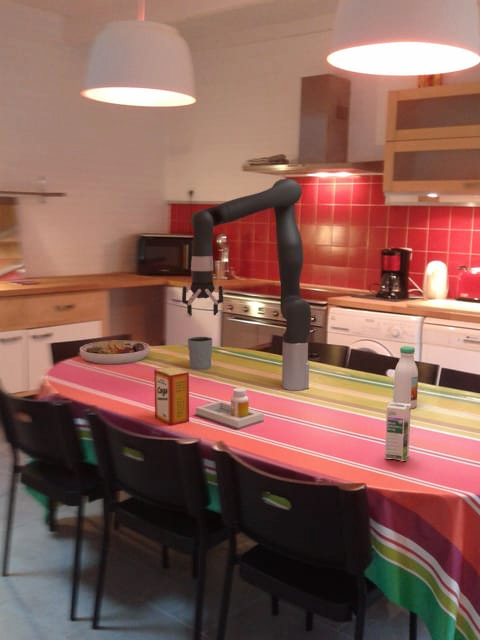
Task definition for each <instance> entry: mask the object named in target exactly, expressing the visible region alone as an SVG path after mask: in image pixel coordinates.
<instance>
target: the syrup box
mask: <svg viewBox="0 0 480 640" xmlns="http://www.w3.org/2000/svg"><path fill="white" fill-rule="evenodd" d="M411 409H412V408H411V404H403V403H393V401H391V402H389V403H388V404H387V407H386V415H385V416H386V418H385V445H384V448H385V449H384V458H385V457H386V458H391V459H397V460H404V461H406V460H407V461H408V458H407V457H409V455H408V454H410V453H409V452H410V437H411V435H410V434H411V433H410V432H411V412H412V410H411ZM407 461H406V462H407Z"/></svg>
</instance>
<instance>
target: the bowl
mask: <svg viewBox="0 0 480 640" xmlns="http://www.w3.org/2000/svg"><path fill="white" fill-rule="evenodd" d="M150 348H151V347H150V345H149V344H148V343H145V342H142V341H135V340H125V339H124V340H121V339H120V340H118V339H113V340H103V341H94V342H91V343H86V344H84V345H82V346H80V347H79V353H80V356H81V357H82V358H83V359H84V360H85V361H86V362H89V363H92V364H93V363H94V364H99V365H123V364H130V363H135V362H138V361H142V360H144V359H145V358H146V357H147V356H148V355H149V353H150V351H151V350H150Z"/></svg>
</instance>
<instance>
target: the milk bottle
mask: <svg viewBox="0 0 480 640" xmlns="http://www.w3.org/2000/svg"><path fill="white" fill-rule="evenodd" d="M415 349H416V348H415V347H414V346H409V345H408V346H406V345H404V346H401V347H400V349H399V351H400V352H399V353H400V357H399V360H398V362H397V364H396V366H395V370H394V376H393V397H392V398H393V400H392V402H393V403H403V404H411V409H414V408H417V406H418V404H417V403H418V386H419V372H418V366H417V363H416V362H415V357H414V356H415V351H416V350H415Z"/></svg>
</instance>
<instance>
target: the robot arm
mask: <svg viewBox="0 0 480 640" xmlns="http://www.w3.org/2000/svg"><path fill="white" fill-rule="evenodd" d="M302 193H303V191H302V187H301V185H300V183H299V182H298V181H297V180H295V179H293V178H292V179H291V178H283V179H279V180H277V181H275V182H274V184H273V185H272V187H270V188H268V189H265V190H263V191H259V192H256V193H253V194H250V195H246V196H241V197H238V198H235V199H231V200H228V201H224V202H223V203H222V202H221V203H219V204H218V205H215V206H210V207H207V208H203V209H200V210H197V211H195V212H194V213H193V214H192V215H191V217H190V225H191V227H192V229H193V233H192V234H193V238H192V243H191V264H190V265H191V267H190V270H191V273H190V274H191V284H190V286H188V285H187V286H186V285H183V286H182V291H181V303H182V304H185V305H186V309H187V311H186V313H187V315H189V317H192V315H193V314H192V313H193V312H192V311H193V308H192V303H193V302H194V301H195V300H196V299H208V298H210V300H211V301H212V304H213V305H212V306H213V309H212V310H213V313H212V314H213V316H217V314H218V313H219V304H222V303H224V294H223V293H224V292H223V290H224V289H223V286H222V285H221V284H218V285H214V259H213V238H214V237H213V236H214V235H213V234H214V228H215V227H216V226H219V225H224V224H225V225H226V224H229V223H233V222H235V221H238V220H241V219H244V218H247V217H249V216H251V215H254V214H257V213H259V212H262V211H265V210H266V211H267V210H269V209H273V211H274V218H275V239H276V253H277V262H278V264H277V265H278V273H279V283H280V301H279V303H280V304H279V305H280V306H279V307H280V309H279V310H280V314H281V316H282V317H283V319H285V320H286V324H285V325H286V326H285V332H284V333H283V334H282V354H281V355H282V357H281V358H282V360H281V362H282V363H281V365H282V366H281V367H282V368H281V369H282V370H281V387H282V389H285V390H288V391H304V390H306V389H307V390H308V389H309V387H310V385H309V384H310V363H309V362H308V360H309V356H308V355H309V338H310V337H309V336H310V334H311V324H312V323H311V322H312V310H311V306H310V304H309V302H308V301H306V300H305V299H302V294H301V286H300V285H301V283H300V281H301V277H302V276H301V275H302V270H303V266H304V246H303V240H302V235H301V232H300V230H299V226H298V223H297V220H296V207H295V206H296V203H298V201H299V200H300V199H301V197H302ZM189 291H191V292H192V294H191V296H190V297H189V299H188V300H187V293H189ZM214 291H216V292H217V293H218V299H216V297H215V296H214V295H213V292H214Z"/></svg>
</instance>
